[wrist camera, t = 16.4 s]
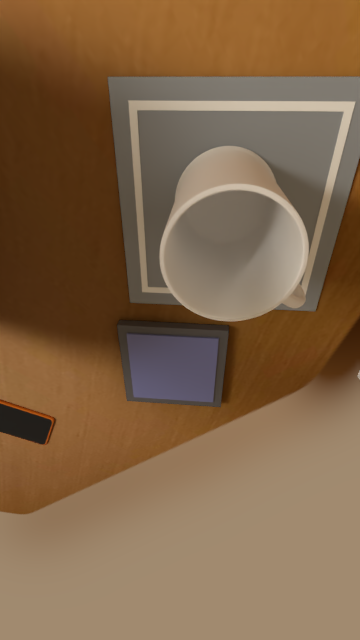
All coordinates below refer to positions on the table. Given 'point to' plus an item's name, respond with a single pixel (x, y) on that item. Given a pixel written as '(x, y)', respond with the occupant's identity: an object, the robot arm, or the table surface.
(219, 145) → the print mat
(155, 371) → the ink pad
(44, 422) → the smartphone
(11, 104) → the table surface
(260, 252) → the mug
